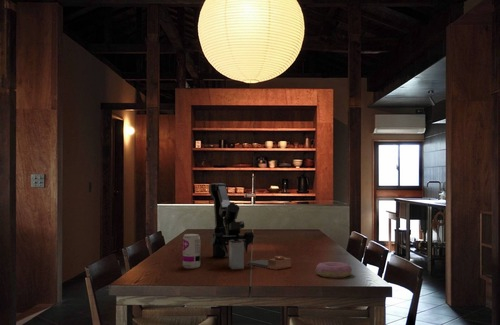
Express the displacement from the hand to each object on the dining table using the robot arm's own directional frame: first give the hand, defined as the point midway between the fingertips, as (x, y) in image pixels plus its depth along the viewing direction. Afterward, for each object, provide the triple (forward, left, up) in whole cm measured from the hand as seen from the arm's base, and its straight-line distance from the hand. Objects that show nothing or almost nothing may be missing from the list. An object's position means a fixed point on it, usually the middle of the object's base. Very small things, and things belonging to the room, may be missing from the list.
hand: (236, 252), depth 233 cm
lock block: (0, +1, -7) cm, 7 cm away
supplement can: (-21, -2, -7) cm, 23 cm away
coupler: (+13, +10, -7) cm, 18 cm away
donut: (+45, -4, -8) cm, 45 cm away
